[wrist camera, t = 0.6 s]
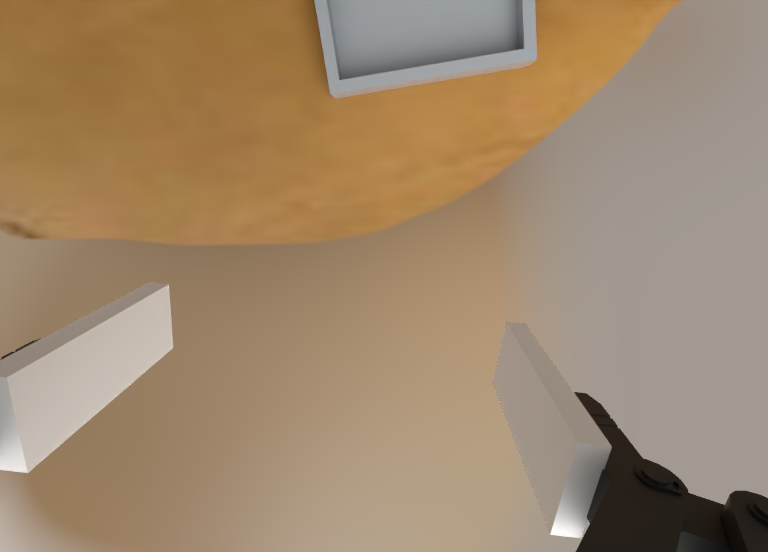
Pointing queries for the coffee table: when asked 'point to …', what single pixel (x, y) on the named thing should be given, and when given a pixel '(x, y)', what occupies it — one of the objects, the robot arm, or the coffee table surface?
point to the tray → (421, 41)
